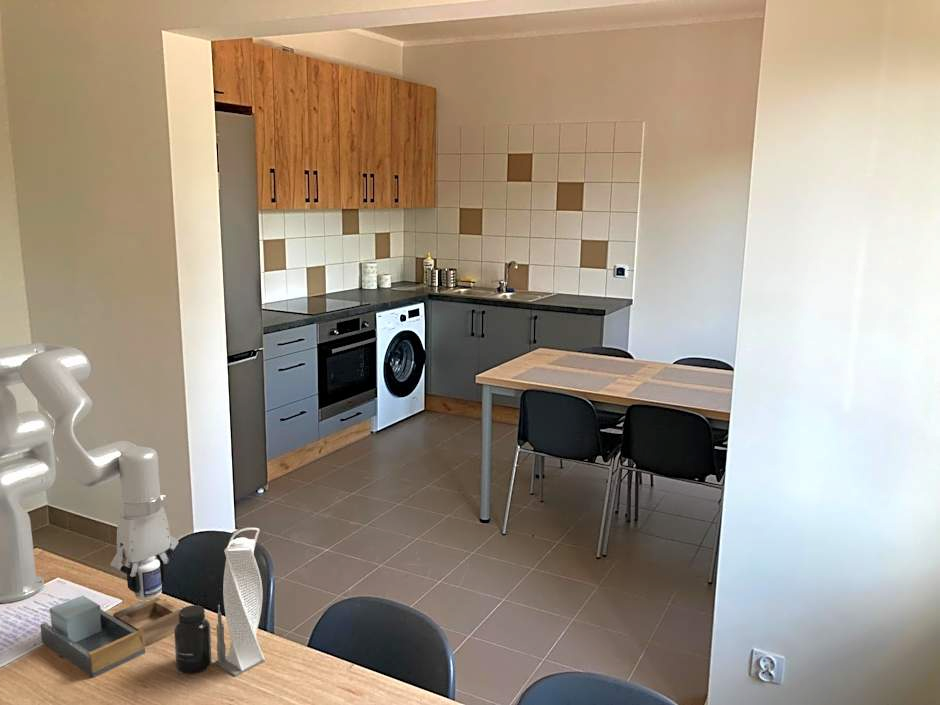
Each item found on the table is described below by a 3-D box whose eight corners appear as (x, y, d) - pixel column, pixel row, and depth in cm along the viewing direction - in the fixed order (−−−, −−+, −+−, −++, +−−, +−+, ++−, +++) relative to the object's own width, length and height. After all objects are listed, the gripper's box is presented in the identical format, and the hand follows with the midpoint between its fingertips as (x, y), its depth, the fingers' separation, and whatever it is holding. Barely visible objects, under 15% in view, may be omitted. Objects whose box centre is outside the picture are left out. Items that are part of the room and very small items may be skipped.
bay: (42, 641, 163) (39, 620, 162) (92, 620, 172) (91, 599, 171) (93, 677, 151) (91, 654, 150) (145, 652, 159) (143, 630, 158)
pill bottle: (166, 589, 169) (163, 547, 167) (154, 601, 163) (151, 558, 162) (143, 587, 169) (140, 546, 167) (130, 599, 164) (126, 557, 162)
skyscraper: (251, 645, 162) (245, 520, 157) (274, 660, 157) (269, 531, 152) (215, 663, 156) (208, 533, 151) (238, 678, 151) (231, 545, 146)
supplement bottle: (178, 679, 151) (175, 622, 148) (174, 661, 156) (170, 606, 154) (214, 669, 154) (211, 614, 152) (209, 652, 160) (206, 599, 157)
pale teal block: (51, 634, 164) (49, 608, 163) (85, 620, 170) (82, 595, 169) (68, 645, 160) (66, 619, 159) (102, 630, 165) (100, 605, 164)
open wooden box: (106, 626, 169) (105, 609, 168) (148, 608, 177) (147, 592, 176) (142, 648, 161) (140, 630, 160) (184, 628, 169) (183, 611, 168)
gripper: (168, 490, 172) (173, 566, 175) (93, 514, 158) (100, 595, 161) (188, 498, 167) (193, 575, 170) (112, 523, 154) (119, 606, 157)
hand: (147, 584), depth 166 cm, fingers closed on pill bottle, 5 cm apart
